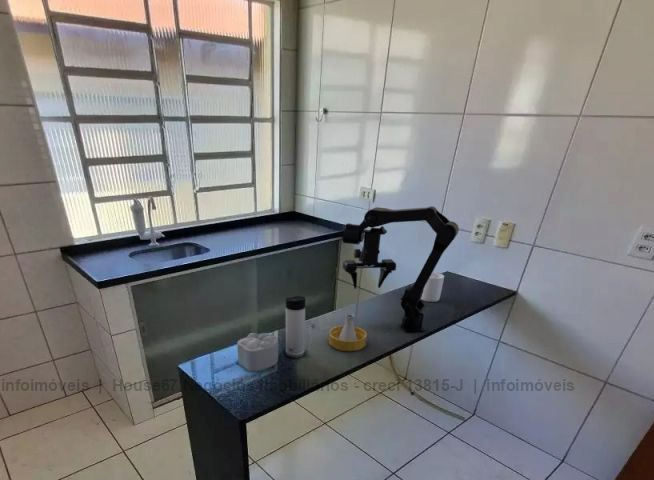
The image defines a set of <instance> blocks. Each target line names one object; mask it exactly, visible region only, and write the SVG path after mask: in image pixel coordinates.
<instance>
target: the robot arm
mask: <svg viewBox="0 0 654 480" xmlns="http://www.w3.org/2000/svg"><path fill="white" fill-rule="evenodd" d="M424 221H425V222H426V223H427V224H428V225H429V227H430V228H431V229H432V231H433V232H435V234H436V236H435V239H434V242H433V246H432V249H431V251H430V253H429V255H428V257H427V259H426V261H425V262H424V264H423V266H422V267H421V270H420V272H419V274H418V276H417V278H416V279H415V281H414V283H413V285H411V284H408V285H407V287H406V288H405V289H404V292H403V294H402V295H401V297H400V300H401V301H400V306H401V308H402V309H403V311H404V313H403V316H402V319H401V324H400V326H401V328H402V329H403V330H404V332H405V333H421V332H424V329H423V328H422V327H423V321H424V317H425V314H424V313H423V311H424V310H425V308H426V304H425V303H424V301H423V300H421V297H422V294H423V290H424V287H425V285H426V283H427V281H428V279H429V278H430V276H431V274H432V272H433V273H434V270H435V269H436V266H437V265H438V263H439V261H440V259H441V258H442V256H443V254H444V253H445V251H446V250H447V249H448V247H449V246H450V245H451V244H452V242H453V241H454V240H455V239H456V237H457V236H458V234H459V231H460V228H459V224H457V222H455V221H452V220H451V221H450V219H449V218H447V217H446V216H445V215H444V214H442V213H441V212H440V211H439V210H438V209H437V208H436V207H435V206H431V205H430V206H427V207H414V208H401V209H391V208H386V207H379V206H377V207H372V208H371V209H369V210H367V211H366V212H365V214H364V216H363V221H361V222H360V224H355V223H350V222H349V223H346V224H345V228H344V230H343V233H342V243H343V244H348V245H349V244H350V245H360V244H361V243H363V245H362V248H361V249H360V248H354V251H353V258H354V259H358V262H356V261H355V260H354V259H352V260H351V259H349V260H348V259H347V260H343V263H342V269H343V270H344V271H345V272H346V273H347V274H348V275H350V277H351V280H352V284H353V288H354V290H356V289H357V287H358V286H357V285H358V284H357V283H358V281H357V280H358V272H357V269H379V278H378V283H377V288H378V289H380V288H381V287H382V286H383V283H384V282H385V280H386V278H387V277H388V276H389V275H390V274H392V273H393V272H395V271H396V270H397V263H396V262H395V261H394V260H393V259H392V258H390V259H389V258H387V259H385V258H384V259H382V260H381V261H379V254H380V252H381V250H380V245H381V237H382V236H381V235H383V236H384V235H386V234H387V233H388V230H387V229H386V228H385V227H384V225H387V224H391V223H406V222H424ZM368 228H369V229H368Z"/></svg>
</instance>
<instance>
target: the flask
mask: <svg viewBox="0 0 654 480" xmlns="http://www.w3.org/2000/svg"><path fill="white" fill-rule="evenodd" d="M344 317H345V321H344V325H343V326H344V327H343V329H342V331H341V333H340V335H339V337H338V339H340V340H344V341H355V340H357V338H356V334H355V330H354V326H355V325H354V320H355V314H353V313H347V314H345V315H344Z"/></svg>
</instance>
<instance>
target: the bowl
mask: <svg viewBox="0 0 654 480" xmlns="http://www.w3.org/2000/svg"><path fill="white" fill-rule="evenodd" d="M343 327H344V325H338V326H334V327H331V328H330V329H329V332H328V344H329V345H330V347H332V348H333V349H335V350H338V351H342V352H356V351H359V350H362V349H363V348H364V347H365V346H367V337H368V333H367V332H366V330H364V329H363V328H361V327H358V326H355V325H354V330H355V334H356V338H357V340H355V341H344V340H340V339H338V337H339V335H340V333H341V331H342V329H343Z"/></svg>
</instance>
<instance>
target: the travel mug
mask: <svg viewBox="0 0 654 480" xmlns="http://www.w3.org/2000/svg"><path fill="white" fill-rule="evenodd" d="M305 339H306V297H304V296H303V295H302V296H299V295H296V296H295V295H294V296H291V297H286V298H285V354H286V356H287V357H289V358H297V359H298V358H301V357H303V356H305V349H306V348H305V347H306V346H305V344H306V343H305V341H306V340H305Z"/></svg>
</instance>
